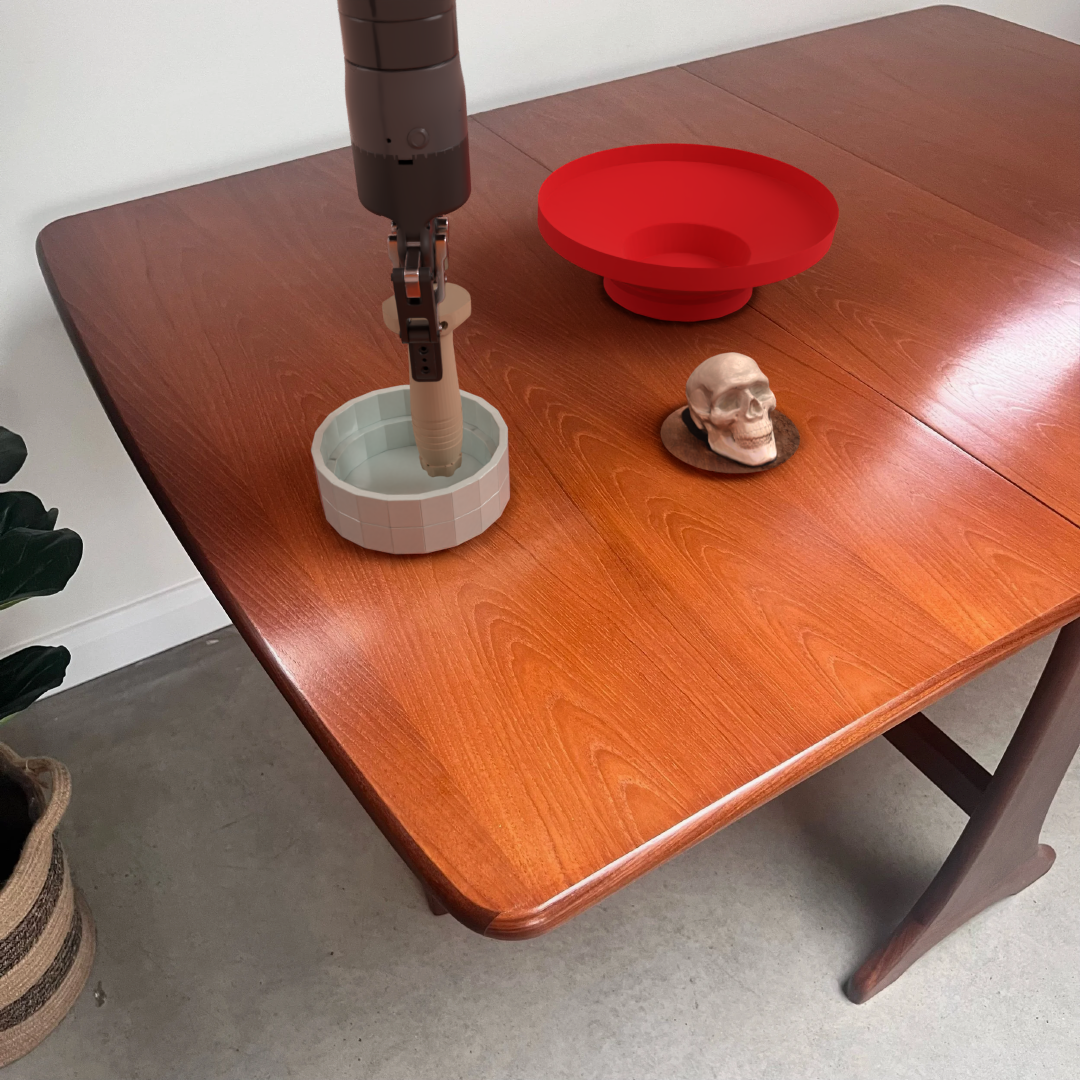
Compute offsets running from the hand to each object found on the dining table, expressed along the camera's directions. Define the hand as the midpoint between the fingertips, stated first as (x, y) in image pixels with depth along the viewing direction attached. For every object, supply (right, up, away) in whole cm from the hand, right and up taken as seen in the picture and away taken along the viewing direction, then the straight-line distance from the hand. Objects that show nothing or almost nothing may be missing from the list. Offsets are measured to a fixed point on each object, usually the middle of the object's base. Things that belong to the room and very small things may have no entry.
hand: (430, 356), depth 78 cm
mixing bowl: (-2, -10, +9) cm, 14 cm away
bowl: (+23, +14, +35) cm, 44 cm away
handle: (0, -8, +7) cm, 11 cm away
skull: (+25, -5, +14) cm, 29 cm away
